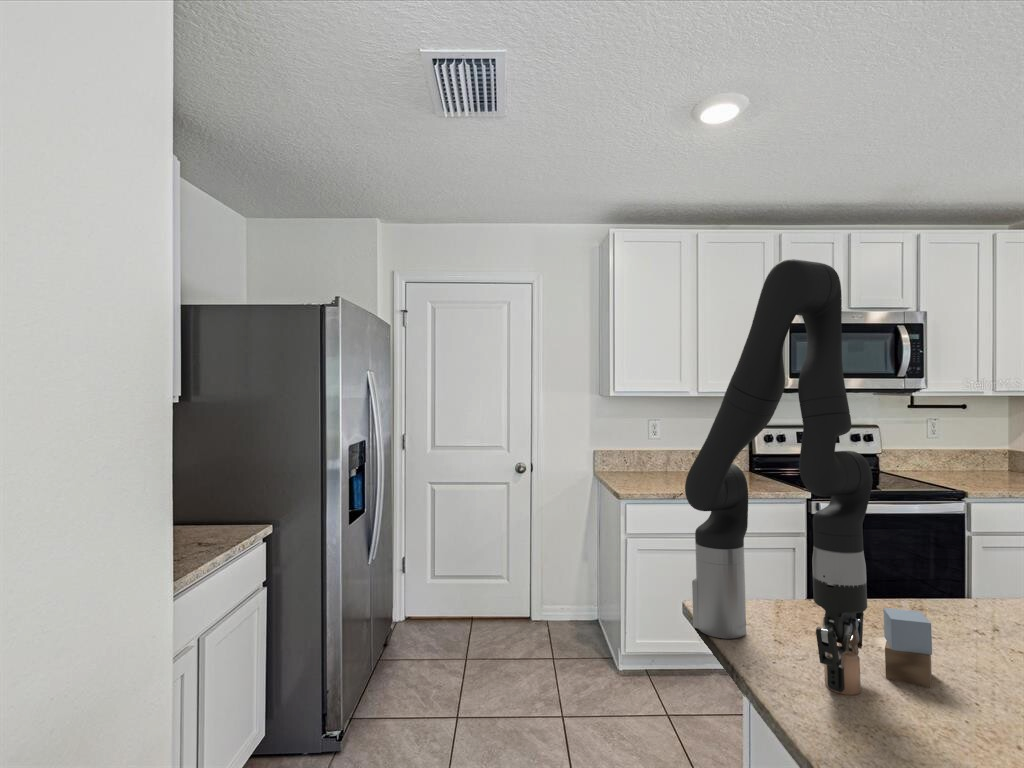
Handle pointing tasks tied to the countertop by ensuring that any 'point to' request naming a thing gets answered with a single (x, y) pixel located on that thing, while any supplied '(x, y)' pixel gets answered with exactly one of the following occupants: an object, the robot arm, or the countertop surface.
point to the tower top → (907, 631)
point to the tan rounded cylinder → (849, 674)
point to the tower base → (908, 667)
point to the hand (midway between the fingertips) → (842, 683)
